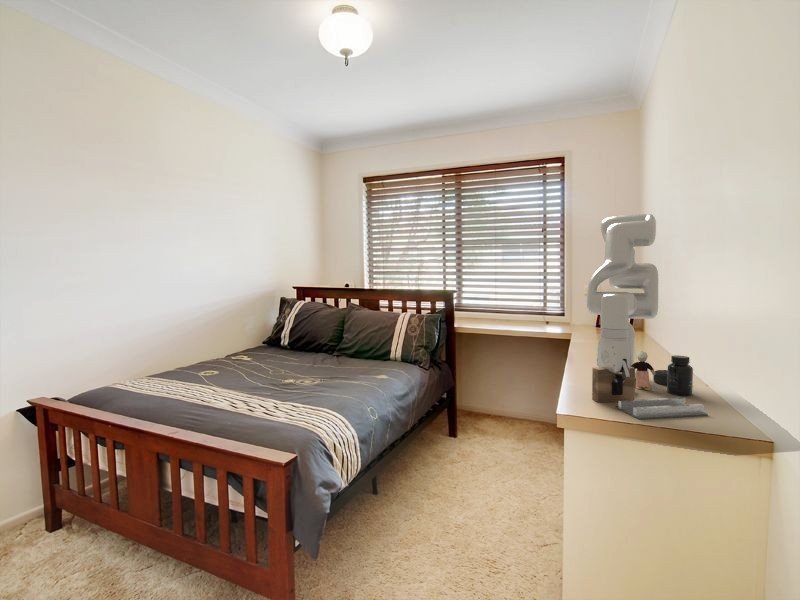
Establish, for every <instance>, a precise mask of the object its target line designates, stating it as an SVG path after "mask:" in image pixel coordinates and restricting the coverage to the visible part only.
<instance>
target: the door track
mask: <svg viewBox="0 0 800 600" xmlns="http://www.w3.org/2000/svg"><path fill="white" fill-rule="evenodd" d="M686 399H687V398H686V397H684V396H683V397H682V396H680V397H660V398H647V399H646V398H642V399H635V400H622V401H618V405H615V409H618V410H619V411H621V412H624V413H626V414H627V415H629V416H632V417H633V418H635V419H637V420H640V421H641V420H643V421H644V420H658V419H675V418H690V417H706V416H708V413H706V412H704V410H705V409H704V407H705V405H704V404H702V403H692V404H691V403H689V404H686Z"/></svg>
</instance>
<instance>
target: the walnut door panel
mask: <svg viewBox="0 0 800 600" xmlns="http://www.w3.org/2000/svg"><path fill="white" fill-rule="evenodd" d="M619 372H620V371H619ZM635 372H636V369H635V368H633V367H630V370H629V375H630V376H629V377H628V378H626V379H625V380H624V382H623V394H622V395H612V382H614V381H613V373H612V372H609V371H608V369H606V368H603V367H598V366H597V367H595V366H594V367H592V381H591V382H592V383H591V384H592V385H591V386H592V388H591V389H592V390H591V391H592V392H591V400H593V401H595V402H597V403H608V402H619V401H622V400H636V399H635V397H636V395H635V394H636V392H635V391H636V390H635V389H636V379H635ZM619 375H620V374H617V377H618V376H619Z"/></svg>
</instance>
